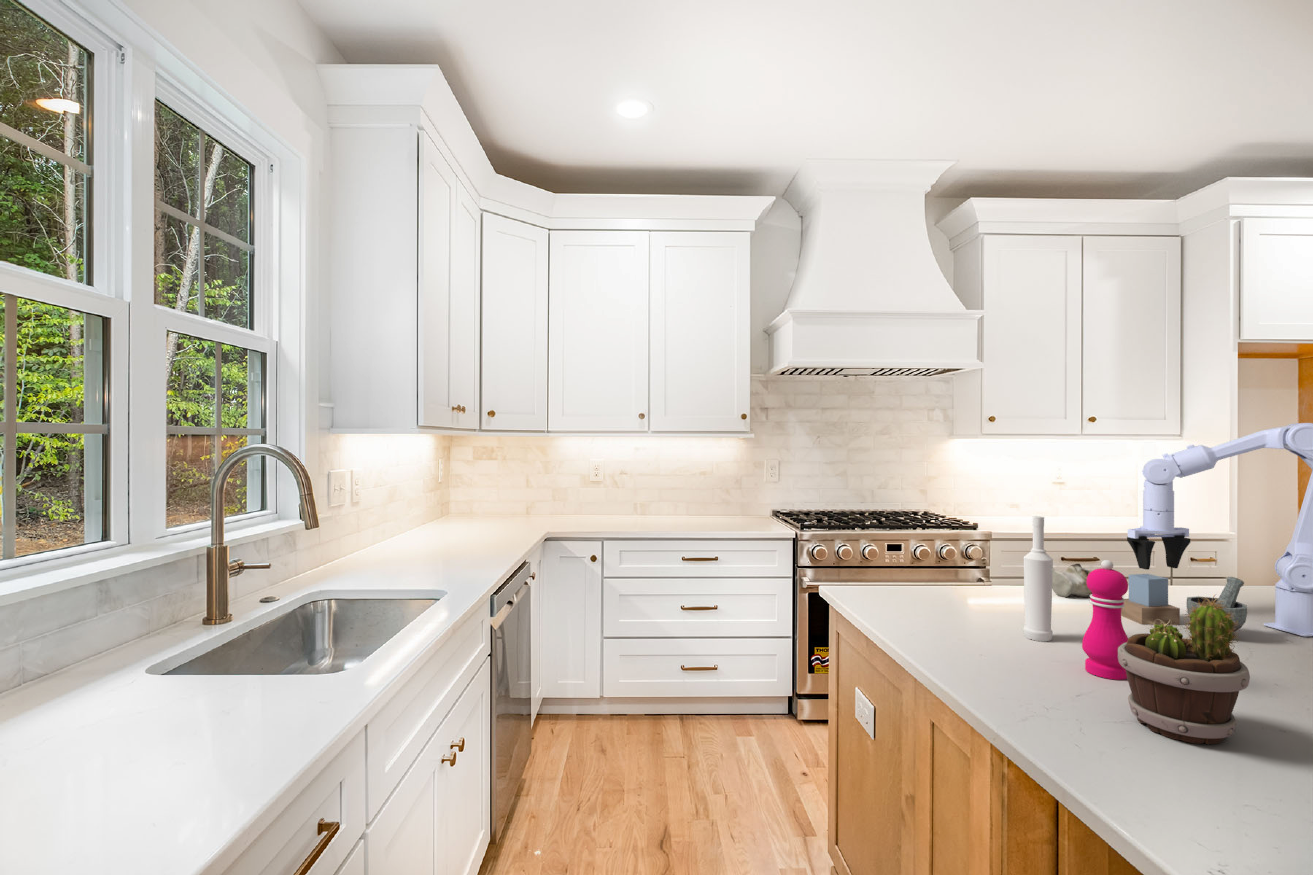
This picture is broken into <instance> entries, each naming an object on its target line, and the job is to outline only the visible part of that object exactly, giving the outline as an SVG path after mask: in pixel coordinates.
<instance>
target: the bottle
mask: <svg viewBox="0 0 1313 875" xmlns="http://www.w3.org/2000/svg"><path fill="white" fill-rule="evenodd" d="M1044 540H1045V516H1038V515H1034V516H1032V548H1030V552H1028V553H1026V555H1024V556H1023V588H1024V589H1023V592H1024V593H1023V594H1024V598H1023V600H1024V626H1023V628H1022V629H1023V630H1022V631H1023V637H1025V638H1026V639H1027V640H1030V639H1032V641H1034V640H1035V642H1041V641H1044V643H1045V641H1048V642H1051V641H1052V639H1053V632H1054V631H1053V630H1052V610H1053V609H1052V606H1053V605H1052V602H1053V589H1052V575H1053V569H1054V559H1053V557H1051V556H1050V555H1049V554H1048V553H1047V551H1046V549H1045V542H1044ZM1050 640H1051V641H1050Z"/></svg>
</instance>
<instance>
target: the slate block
mask: <svg viewBox="0 0 1313 875" xmlns="http://www.w3.org/2000/svg"><path fill="white" fill-rule="evenodd" d="M1128 599H1129V601H1131V602H1135V603H1138V604H1142V605H1145V606H1148V607H1149V606H1167V605H1168V604H1169V578H1167V577H1164V576H1159V575H1155V574H1151V573H1135V574H1128Z"/></svg>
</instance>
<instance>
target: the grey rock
mask: <svg viewBox="0 0 1313 875" xmlns="http://www.w3.org/2000/svg"><path fill="white" fill-rule="evenodd" d="M1091 571H1092V570H1091V569H1088V568H1083V567H1082V565H1081V564H1080V563H1074V564H1070V565H1069V566H1068V567H1067V568H1066V570H1063V571H1062V570H1059V569H1055V568H1053V575H1052V592H1054V593H1055V595H1057V596H1058V597H1061V598H1063V597H1064V598H1066V597H1067V598H1068V597H1069V596H1070V595H1073V596H1076V597H1079V598H1080V597H1083V598H1090V595H1091V594H1092V592H1091V591H1090V590H1089V588H1088V587H1087V583H1086V581H1087V576H1088V575H1089V573H1090V572H1091Z"/></svg>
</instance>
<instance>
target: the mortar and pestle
mask: <svg viewBox="0 0 1313 875" xmlns="http://www.w3.org/2000/svg"><path fill="white" fill-rule="evenodd" d="M1244 584H1245V582H1244V581H1243V580H1241V579H1240V578H1238V577H1234V576H1227V578H1226V583H1225V586H1224V588H1223V589H1222V591H1221V593H1220V594H1219V597H1214V598H1213V597H1209V596H1199V595H1198V596H1187V597H1186V612H1188V613H1187V614H1188V615H1187V616H1189V615H1190V614H1191V613H1192V611H1191V610H1190V609H1192V607H1193V609H1192V610H1194V609H1195V608H1194V606H1195V607H1196V609H1197V606H1198V607H1200V606H1199V605H1198V604H1199V603H1198V602H1200V603H1201V605H1202V602H1203V601H1204V599H1206V598H1207V599H1209V600H1210V602H1212V603H1213V602H1214V600H1215V599H1217V600H1216V601H1215V603H1216V602H1217V603H1216V604H1218V603H1221V604H1222V603H1223V604H1222V605H1223V606H1222V605H1221V604H1220V605H1221V606H1222V610H1224V609H1225V610H1224V611H1225V612H1226V613H1227V612H1228V613H1229V614H1230V612H1231V614H1232V615H1230V616H1233V615H1235V616H1233V617H1230V618H1231V619H1232V621H1233V620H1234V621H1233V622H1234V623H1235V622H1237V623H1238V625H1237V626H1236V625H1235V627H1234V625H1233V627H1234V628H1233V629H1235V628H1236V629H1238V630H1240V629H1241V628H1243V626H1244V625H1245V624H1246V621H1247V616H1248V605H1246V604H1244V603H1242V602H1238V601H1237V599H1238V596H1239V593H1240V590H1241V588H1242V587H1244ZM1200 597H1201V598H1200ZM1204 597H1205V598H1204ZM1203 598H1204V599H1203ZM1212 598H1213V600H1212ZM1198 599H1199V600H1198ZM1207 599H1206V601H1204V602H1203V604H1204V603H1205V602H1208V601H1209V600H1208V601H1207ZM1218 601H1221V602H1218ZM1206 604H1207V603H1205V605H1206ZM1209 604H1210V603H1209V602H1208V605H1209ZM1191 606H1192V607H1191ZM1218 606H1219V605H1218ZM1223 607H1227V608H1223ZM1190 612H1191V613H1190ZM1228 613H1227V614H1228ZM1233 613H1234V614H1233ZM1235 618H1236V619H1235ZM1240 624H1241V625H1240ZM1237 627H1238V628H1237ZM1236 629H1235V630H1234V631H1233V632H1232V633H1233V636H1236V631H1237V630H1236ZM1234 634H1235V635H1234ZM1234 638H1235V637H1234ZM1232 640H1233V639H1232ZM1234 641H1236V638H1235V639H1234Z"/></svg>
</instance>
